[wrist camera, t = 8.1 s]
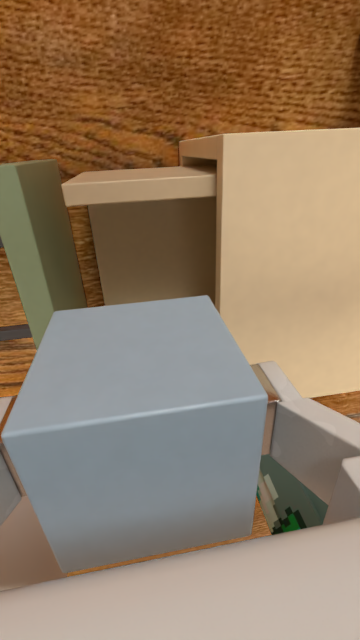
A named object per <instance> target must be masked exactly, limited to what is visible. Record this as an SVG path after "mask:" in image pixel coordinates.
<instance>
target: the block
mask: <svg viewBox="0 0 360 640" xmlns="http://www.w3.org/2000/svg"><path fill="white" fill-rule="evenodd" d="M267 403H268V395H267V393H266V391H265V390H264V388H263V386H262V385H261V383H260V381H259V380H258V378H257V376H256V375H255V373H254V371H253V369H252V368H251V366H250V364H249V363H248V361H247V359H246V358H245V356H244V354H243V353H242V351H241V349H240V348H239V346H238V344H237V343H236V341H235V339H234V338H233V336H232V334H231V333H230V331H229V329H228V328H227V326H226V324H225V323H224V321H223V319H222V318H221V316H220V314H219V313H218V311H217V309H216V308H215V306H214V304H213V303H212V301H211V299H210V297H209V296H207V295H204V296H195V297H186V298H176V299H167V300H157V301H148V302H138V303H129V304H119V305H110V306H100V307H91V308H81V309H72V310H62V311H55V312H54V313H53V315H52V317H51V320H50V322H49V324H48V327H47V329H46V331H45V333H44V336H43V338H42V340H41V343H40V345H39V347H38V350H37V352H36V354H35V357H34V359H33V361H32V364H31V366H30V368H29V371H28V373H27V375H26V378H25V380H24V382H23V384H22V387H21V389H20V391H19V394H18V396H17V398H16V401H15V403H14V405H13V408H12V410H11V412H10V415H9V417H8V419H7V422H6V424H5V426H4V428H3V431H2V434H1V438H2V441H3V443H4V445H5V447H6V450H7V452H8V454H9V456H10V458H11V461H12V463H13V465H14V467H15V469H16V472H17V474H18V476H19V478H20V481H21V483H22V485H23V487H24V489H25V492H26V494H27V496H28V498H29V501H30V503H31V505H32V507H33V509H34V512H35V514H36V516H37V518H38V520H39V523H40V525H41V527H42V529H43V532H44V534H45V536H46V538H47V540H48V543H49V545H50V547H51V549H52V552H53V554H54V556H55V558H56V560H57V563H58V565H59V567H60V569H61V571H62V573H69V572H74V571H79V570H83V569H88V568H93V567H98V566H103V565H108V564H113V563H118V562H123V561H128V560H133V559H138V558H142V557H147V556H152V555H157V554H162V553H167V552H172V551H177V550H182V549H187V548H192V547H197V546H201V545H206V544H211V543H216V542H221V541H226V540H231V539H236V538H241V537H246V536H250V535H251V534H252V526H253V517H254V509H255V501H256V493H257V485H258V477H259V468H260V460H261V452H262V444H263V436H264V427H265V419H266V411H267Z"/></svg>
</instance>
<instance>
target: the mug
mask: <svg viewBox="0 0 360 640" xmlns="http://www.w3.org/2000/svg"><path fill="white" fill-rule="evenodd" d="M21 498H22V499H21V501H20V502H19V503H18V505H17V506H16V507H15V508H14V510H13V511H12V512H11V514H10V515H9V516H8V518H7V519H6V520H5V521H4V523H3V524H2V525H1V527H0V591H2V590H7V589H12V588H17V587H22V586H27V585H32V584H36V583H41V582H46V581H51V580H56V579H61V578H66V577H67V573H62V571H61V569H60V567H59V565H58V563H57V560H56V558H55V556H54V554H53V552H52V549H51V547H50V545H49V543H48V540H47V538H46V536H45V534H44V532H43V529H42V527H41V525H40V523H39V520H38V518H37V516H36V514H35V512H34V509H33V507H32V505H31V503H30V501H29V498H28V496H23V497H21Z"/></svg>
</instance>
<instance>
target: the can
mask: <svg viewBox="0 0 360 640" xmlns="http://www.w3.org/2000/svg"><path fill="white" fill-rule="evenodd" d="M256 495H257V498H258V500H259V503H260V506H261V508H262V511H263V513H264V516H265V518H266V521H267V524H268V526H269V529H270V531H271V534H272V535H275V534H280V533H285V532H289V531H294V530H299V529H304V528H309V527H314V526H319V525H323V521H324V518H325V515H326V512H327V509H328V505H327V504H326V503H325V502H324V501H323V500H321V499H320V498H319V497H318V496H317V495H316V494H314V493H313V492H312V491H311V490H310V489H308V488H307V487H306V486H305V485H304V484H303V483H301V482H300V481H299V480H298V479H297V478H296V477H294V476H293V475H292V474H291V473H290V472H288V471H287V470H286V469H285V468H284V467H283V466H281V465H280V464H279V463H278V462H277V461H275V460H274V459H273V458H272V457H271V456H270V454H267V455H261V460H260V468H259V477H258V485H257V493H256Z"/></svg>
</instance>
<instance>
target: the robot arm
mask: <svg viewBox="0 0 360 640" xmlns="http://www.w3.org/2000/svg"><path fill="white" fill-rule="evenodd" d="M250 366H251V368H252V369H253V371H254V373H255V375H256V376H257V378H258V380H259V381H260V383H261V385H262V386H263V388H264V390H265V391H266V393H267V395H268V403H267V411H266V419H265V427H264V436H263V444H262V452H261V455H267V454H270V456H271V457H272V458H273V459H274V460H275V461H277V462H278V463H279V464H280V465H281V466H283V467H284V468H285V469H286V470H287V471H288V472H290V473H291V474H292V475H293V476H294V477H296V478H297V479H298V480H299V481H300V482H301V483H303V484H304V485H305V486H306V487H307V488H308V489H310V490H311V491H312V492H313V493H314V494H316V495H317V496H318V497H319V498H320V499H321V500H323V501H324V502H325V503H326V504H327V505H328V509H327V512H326V515H325V518H324V521H323V525H319V526H314V527H309V528H304V529H299V530H294V531H289V532H285V533H280V534H275V535H270V536H265V537H260V538H255V539H250V540H245V541H241V542H236V543H231V544H226V545H221V546H216V547H211V548H206V549H202V550H197V551H192V552H187V553H182V554H177V555H172V556H167V557H163V558H158V559H153V560H148V561H143V562H138V563H134V564H129V565H124V566H119V567H114V568H109V569H104V570H100V571H95V572H90V573H85V574H80V575H75V576H71V577H66V578H61V579H56V580H51V581H46V582H41V583H36V584H32V585H27V586H22V587H17V588H12V589H7V590H2V591H0V640H360V423H358V422H356V421H354V420H352V419H350V418H348V417H346V416H344V415H342V414H340V413H338V412H336V411H334V410H332V409H330V408H328V407H326V406H324V405H322V404H320V403H318V402H316V401H314V400H312V399H310V398H302V396H301V395H300V394H299V392H298V391H297V390H296V388H295V387H294V386H293V384H292V383H291V382H290V380H289V379H288V378H287V376H286V375H285V374H284V372H283V371H282V370H281V368H280V367H279V366H278V364H277V363H276V362H275V361H267V362H261V363H256V364H251V365H250ZM17 396H18V395H16V396H8V397H0V527H1V525H2V524H3V523H4V521H5V520H6V519H7V518H8V516H9V515H10V514H11V512H12V511H13V510H14V508H15V507H16V506H17V505H18V503H19V502H20V501H21V499H22V498H21V497H23V496H27V494H26V492H25V489H24V487H23V485H22V483H21V481H20V478H19V476H18V474H17V472H16V469H15V467H14V465H13V463H12V461H11V458H10V456H9V454H8V452H7V450H6V447H5V445H4V443H3V441H2V438H1V434H2V431H3V428H4V426H5V424H6V422H7V419H8V417H9V415H10V412H11V410H12V408H13V405H14V403H15V401H16V398H17Z"/></svg>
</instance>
